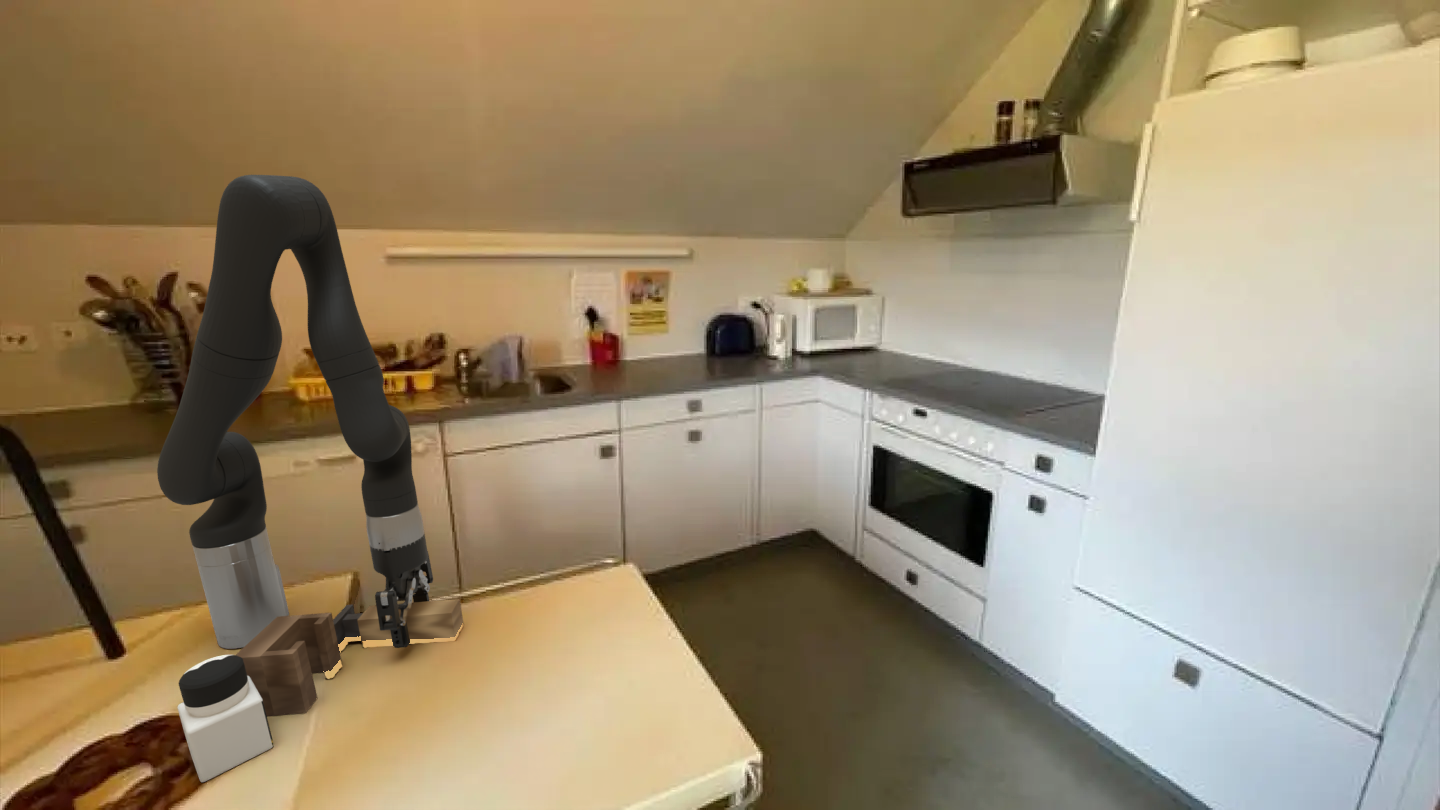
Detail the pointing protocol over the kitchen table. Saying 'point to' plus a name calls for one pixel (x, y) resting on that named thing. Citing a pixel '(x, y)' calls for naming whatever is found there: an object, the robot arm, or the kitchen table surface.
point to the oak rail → (420, 620)
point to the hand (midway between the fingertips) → (413, 629)
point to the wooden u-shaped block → (291, 660)
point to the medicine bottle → (222, 715)
